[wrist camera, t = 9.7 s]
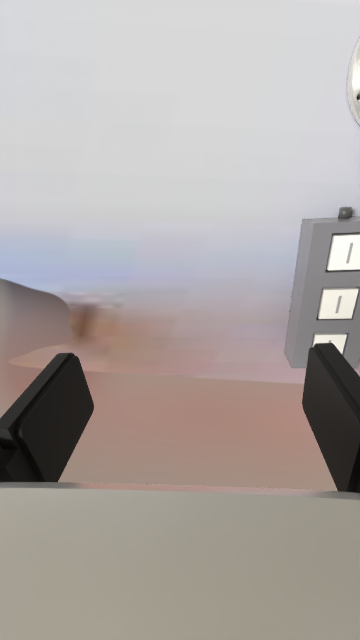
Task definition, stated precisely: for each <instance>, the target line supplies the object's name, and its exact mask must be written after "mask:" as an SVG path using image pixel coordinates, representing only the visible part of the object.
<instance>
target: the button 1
mask: <svg viewBox="0 0 360 640" xmlns="http://www.w3.org/2000/svg"><path fill="white" fill-rule="evenodd" d="M346 337H347V334H346V333H314V335H313V340H312V346H311V347H314V345H315V344H316V343H333V344H334V345H335V346H336V348H337V349H338V350H339V351H340V353H341V354H342V353H343V349H344V345H345V341H346Z"/></svg>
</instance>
